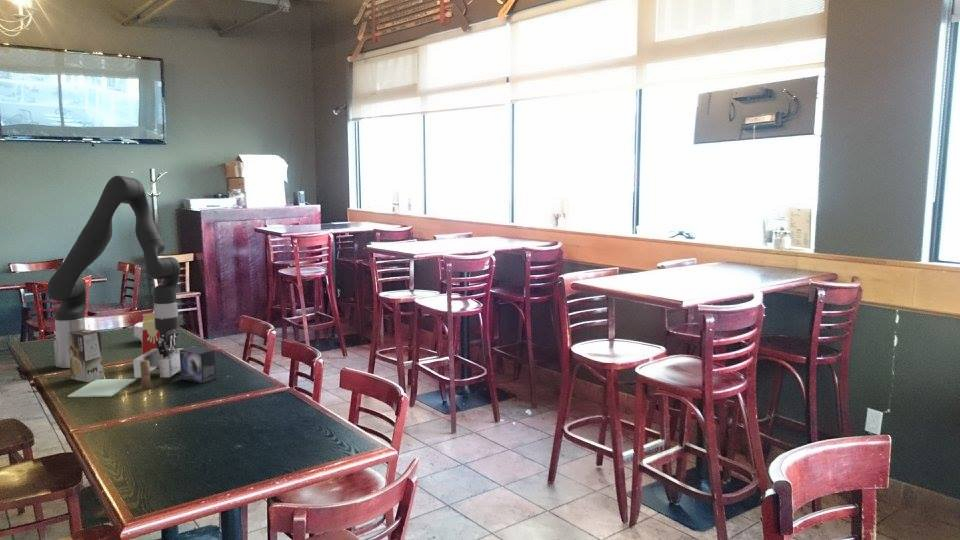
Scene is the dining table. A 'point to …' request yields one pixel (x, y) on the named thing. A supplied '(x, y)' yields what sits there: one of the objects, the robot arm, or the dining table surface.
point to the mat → (102, 388)
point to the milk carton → (149, 333)
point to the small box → (198, 364)
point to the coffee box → (85, 355)
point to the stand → (145, 375)
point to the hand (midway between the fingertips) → (169, 364)
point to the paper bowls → (138, 330)
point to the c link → (159, 362)
